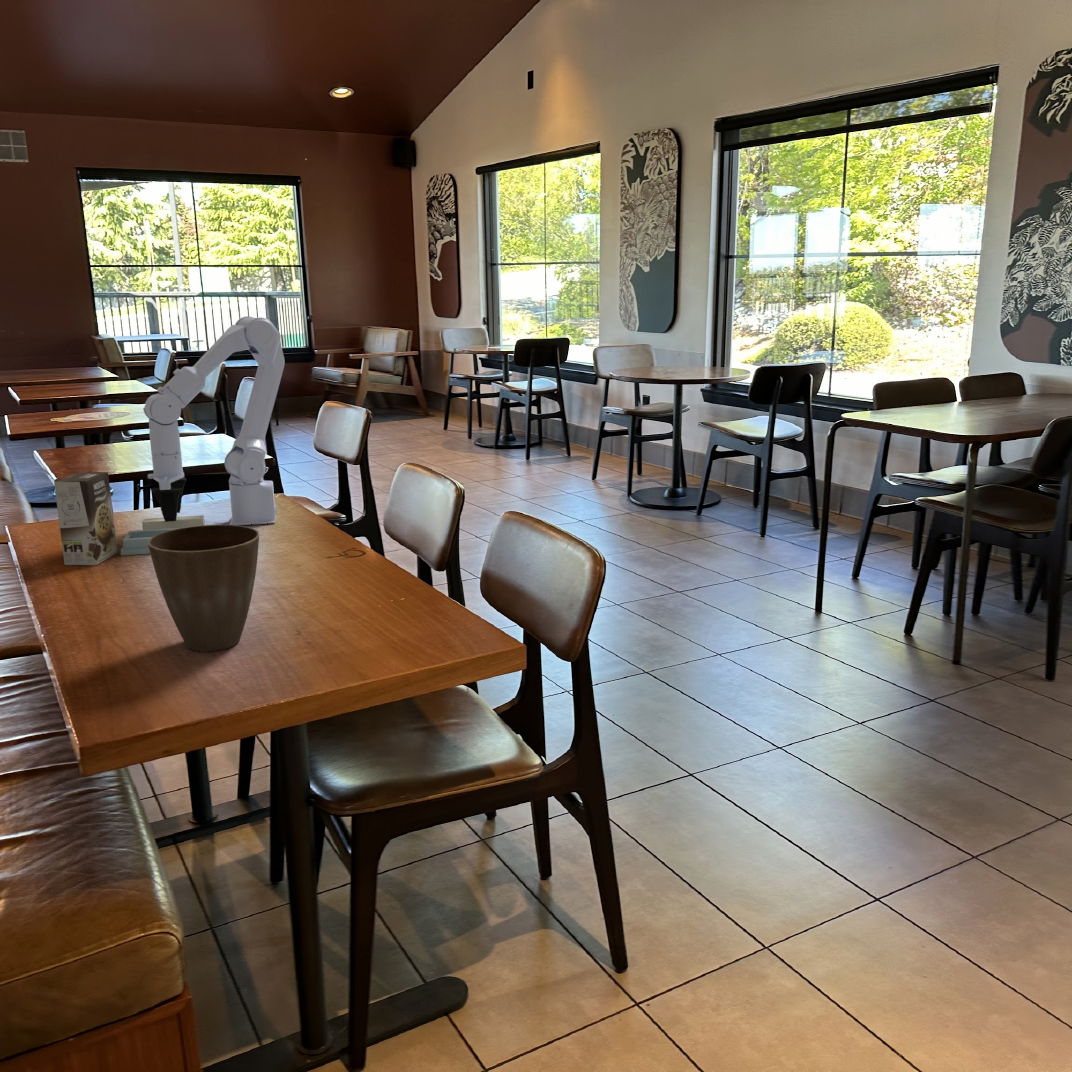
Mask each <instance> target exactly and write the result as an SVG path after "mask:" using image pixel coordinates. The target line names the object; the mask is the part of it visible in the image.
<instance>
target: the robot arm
mask: <svg viewBox="0 0 1072 1072" xmlns="http://www.w3.org/2000/svg"><path fill="white" fill-rule="evenodd" d="M276 327H277V326H275V324H274V323H273V322H272V321H271V320H270V319H267V318H266V317H253V316H243V317H241V318H238V320H237V321H236V322H235V323H234V324H232V325H231V326H229V327H228V328H227V329H226V330H225V331H224V332H223V334H221V336H220V337H219V338H218V339H217V340H216V341H215V342H214V343H213V345H211V347H209V348H208V350H207V351H206V352H205V353H203V355H202V356H201V357H200V358H199V359H198V361H196V363H195V364H194V365H192V366H183V367H181V369H179V368H176V369H175V370H174V371H173V372H172V373H173V377H172V378H170V379H169V380H168V382H166V383H165V384H164V386H159V387H158V388H157V389H156V390H157V392H158V393H155V394H152V395H150V396H149V397H148V398H147V399H146V400H145V405H144V407H143V413H144V415H145V416H146V417H147V418H148V426H149V427H148V428H149V431H148V432H149V441H150V451H151V461H152V471H153V473H149V474H147V479H150V480H152V479H153V480H155V481H156V482H157V484H158V485H159V487H153V488H152V489H151V493H152V496H153V497H154V498H155V499H156V500H157V502H158V506H159V508H160V511H161V514H162V518H164V520H165V522H170V521H176V518H177V517H178V514H180V513H181V511H182V510H181V508H182V500H183V499H182V498H183V491H184V487H185V484H186V482H187V477H185V472H184V470H183V469H184V468H183V458H182V449H181V440H180V430H179V423H178V420H179V419H180V417H181V415H182V409H184V408H186V407H187V406H188V405H189V403H190V402H192V401H193V399H195V397H197V396H198V394H200V392H202V391H203V390H204V389H205V388H206V378H207V377H208V376H209V375H210V374H211V373H212V372H213V371H214V370H216V369H217V368H218V367H219V366H220V365H221V364H222V363H223V362H225V361H226V360H227V359H228V358H229V357H230V356H231V355H232V354H234V353H236V352H243V351H247V350H248V351H249V352H250V355H252V357H253V359H254V361H256V363H257V369H256V373H255V376H254V380H253V384H252V388H251V391H250V395H249V399H248V403H247V406H246V409H245V414H244V419H243V421H242V425H241V427H240V428H241V429H240V432H239V435H238V436H237V437H236V438H235V440H234V441H233V444H232V448H230V450H229V451H228V452H227V454H226V455H225V458H224V463H223V464H224V467H225V470H226V471H227V473H228V474H230V477H229V479H228V487H229V497H230V507H231V517H230V522H229V525H239V526H248V525H249V526H250V525H251V524H252V525H262V524H263V525H265V524H266V525H267V523H268V524H275V523H276V519H277V518H276V517H277V516H276V514H278V513H277V511H278V510H277V505H276V503H275V493H274V491H275V489H274V481H273V480H265V479H264V476H265V474H266V469H267V465H266V461H265V458H266V454H267V450H266V447H265V445H266V444H265V440H266V439H265V438H266V434H267V431H268V428H269V424H270V420H271V417H272V413H273V409H274V406H275V403H276V400H277V394H278V391H279V387H280V383H281V379H282V376H283V372H284V368H285V364H286V362H285V356H284V351H283V348H282V344H281V340H280V339H281V333H280V331H279V330H278V329H277V328H276Z"/></svg>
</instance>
